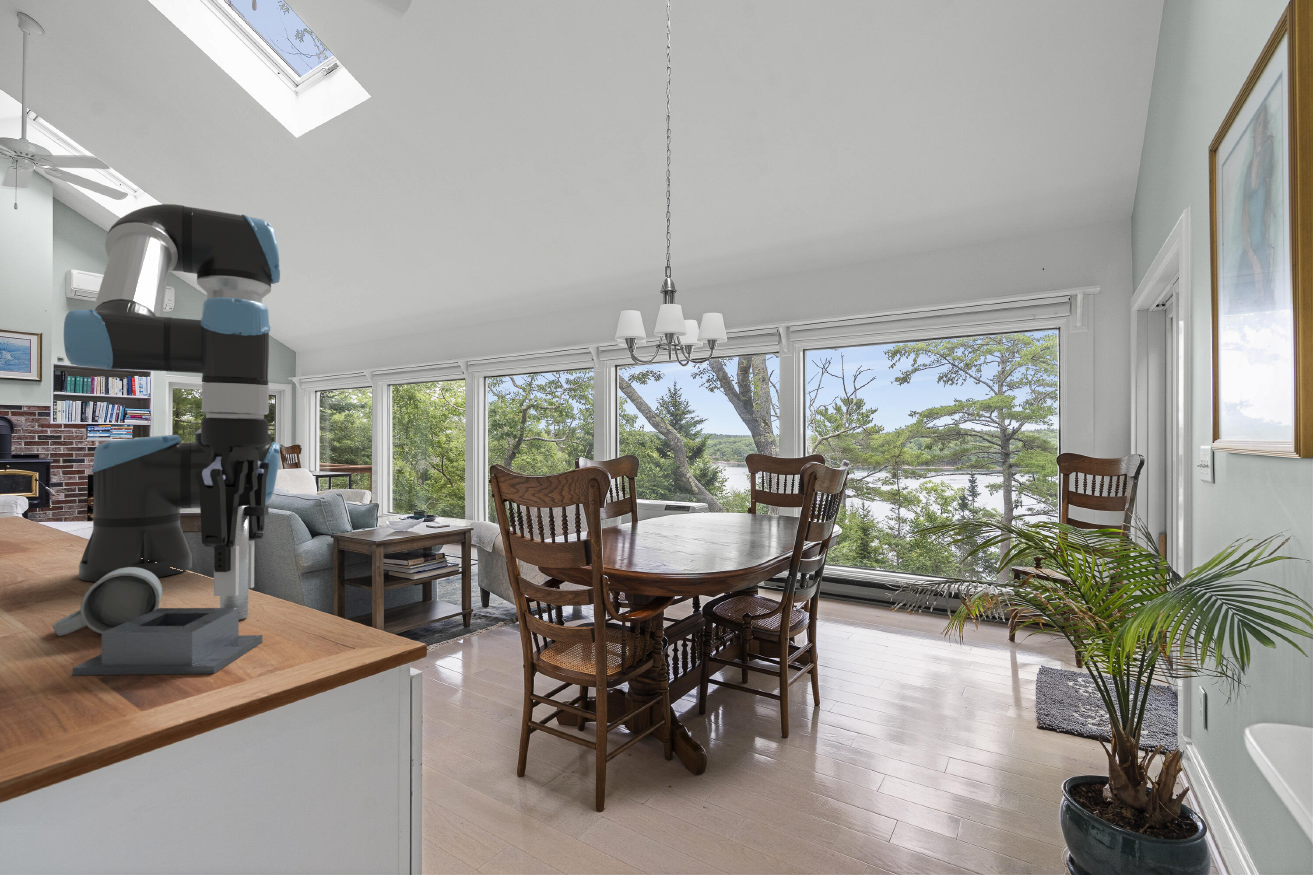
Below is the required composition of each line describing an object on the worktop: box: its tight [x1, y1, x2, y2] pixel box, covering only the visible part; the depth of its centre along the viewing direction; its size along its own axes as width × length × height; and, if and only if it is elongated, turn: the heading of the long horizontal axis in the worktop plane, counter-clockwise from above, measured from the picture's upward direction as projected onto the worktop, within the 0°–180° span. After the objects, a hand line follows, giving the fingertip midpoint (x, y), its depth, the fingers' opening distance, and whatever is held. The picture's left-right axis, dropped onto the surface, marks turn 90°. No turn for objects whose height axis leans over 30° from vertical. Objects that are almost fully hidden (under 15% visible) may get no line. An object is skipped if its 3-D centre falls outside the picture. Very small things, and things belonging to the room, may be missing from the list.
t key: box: [219, 505, 270, 621], centre depth 87 cm, size 8×3×15 cm, turn 95°
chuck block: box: [71, 607, 263, 676], centre depth 74 cm, size 10×14×4 cm
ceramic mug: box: [52, 567, 163, 637], centre depth 83 cm, size 11×8×8 cm
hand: (234, 590), depth 88 cm, fingers closed on t key, 3 cm apart
